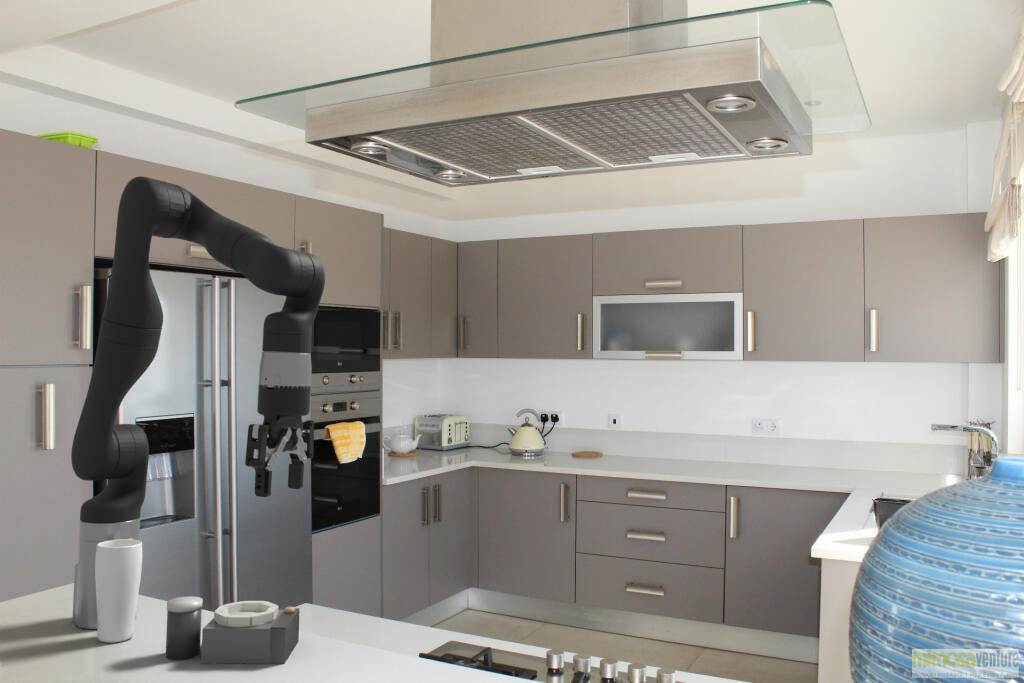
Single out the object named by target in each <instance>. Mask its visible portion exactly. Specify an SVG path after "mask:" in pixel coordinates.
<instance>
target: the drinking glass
mask: <svg viewBox="0 0 1024 683" xmlns="http://www.w3.org/2000/svg"><path fill="white" fill-rule="evenodd" d="M142 570H143V541H141V540H140V539H139V540H134V539H119V540H110V541H104V542H101V543H98V544H97V547H96V558H95V583H96V602H97V625H98V627H97V629H96V631H97V632H96V634H97V635H96V636H97V640H98V641H100V642H103V643H107V644H109V643H111V644H112V643H120V642H125V641H128V640H130V639H131V638H133V637H134V635H135V631H136V628H135V627H136V619H137V608H138V600H139V593H140V592H139V591H140V587H141V579H142ZM135 618H136V619H135Z"/></svg>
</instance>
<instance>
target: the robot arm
mask: <svg viewBox="0 0 1024 683" xmlns="http://www.w3.org/2000/svg"><path fill="white" fill-rule="evenodd" d="M119 199H120V200H119V204H118V209H117V218H116V228H115V229H116V230H115V242H114V253H113V260H112V266H111V273H110V274H111V275H110V280H109V287H108V292H107V296H106V301H105V305H104V310H103V313H102V318H101V322H100V328H99V333H98V340H97V346H96V352H95V358H94V362H93V367H92V373H91V376H90V381H89V385H88V390H87V392H86V397H85V399H84V403H83V406H82V410H81V412H80V417H79V420H78V423H77V425H76V428H75V432H74V436H73V441H72V445H71V452H70V455H71V457H70V458H71V466H72V470H73V472H74V474H75V476H76V477H77V478H79V479H80V480H82V481H88V482H90V481H101V480H102V481H104V480H107V481H108V482H107V484H106V487H105V488H103V489H102V491H101V492H99V493H98V494H97V495H95V496H93V497H91V498H90V499H88V500H85V501H84V502H83V503H82V504H81V507H80V514H79V520H80V521H79V534H78V536H79V537H78V538H79V540H78V560H77V561H78V563H77V564H75V566H74V574H73V576H74V578H73V595H72V596H73V599H72V622H75V625H76V626H77V627H78V628H80V629H81V628H82V629H89V630H97V627H98V625H97V602H96V583H95V558H96V547H97V544H98V543H101V542H104V541H110V540H119V539H134V540H140V537H141V536H140V532H141V531H140V529H141V511H142V506H143V505H144V501H145V499H146V492H147V491H146V490H147V489H146V488H147V479H148V470H149V469H148V468H149V460H150V458H149V457H150V456H149V455H150V449H149V448H150V447H149V440H148V437H147V434H146V432H145V431H144V429H143V427H141V426H139V425H137V424H134V423H119V424H118V423H116V424H115V421H116V418H117V416H118V412H119V409H120V406H121V404H122V402H123V400H124V399H125V397H126V396H127V394H128V393H129V391H130V390H131V389H132V387H133V386H134V385H136V383H137V382H138V381H139V379H141V377H142V376H143V375H144V374H145V372H146V371H147V370H148V368H150V366H151V364H152V363H153V361H154V360H155V357H156V356H157V353H158V350H159V349H158V348H159V344H160V341H161V336H162V329H163V325H164V311H163V307H162V303H161V301H160V297H159V295H158V292H157V289H156V288H155V285H154V282H153V278H152V275H151V271H150V263H149V262H150V252H151V242H152V238H153V237H157V238H163V239H177V240H182V241H187V242H191V243H194V244H198V245H200V246H201V247H204V248H205V250H206V251H207V253H208V254H209V255H210V256H211V258H212V259H214V260H215V261H216V262H218V263H219V264H222V265H223V266H225V267H227V268H229V269H231V270H232V271H235V272H237V273H239V274H241V275H242V276H244V277H245V278H246V280H248V281H249V282H250V283H251V284H252V285H254V286H255V287H256V288H258V289H260V290H262V291H264V292H266V293H268V294H271V295H275V296H280V297H281V296H283V297H285V300H284V303H283V306H282V309H281V310H280V311H275V312H271V313H269V314H267V315H266V316H265V318H264V321H263V328H262V333H263V334H262V347H261V348H262V349H261V350H262V351H261V357H260V358H261V359H260V363H259V370H258V389H257V406H256V407H257V408H256V410H257V411H256V412H257V414H259V415H260V416H263V421H262V423H261V424H260V423H250V424H249V425H248V427H247V438H246V451H245V458H244V459H245V461H244V463H245V464H244V465H245V466H246V467H251V468H252V469H253V470H254V471H255V473H254V496H256V497H260V498H261V497H262V498H268V497H270V496H271V494H272V480H273V477H272V476H273V471H272V468H273V466H274V464H275V461H276V460H277V459H279V458H280V457H281V454H282V453H284V454H286V457H287V459H288V461H289V463H288V474H287V476H288V477H287V487H288V488H289V489H291V490H292V489H293V490H299V489H302V488H303V487H304V471H305V470H304V469H305V464H307V461H308V459H313V458H314V450H315V449H314V444H315V443H314V438H315V437H314V436H315V422H314V420H312V419H302V417H306V416H309V414H310V410H311V408H310V406H311V390H312V388H311V387H312V371H313V370H312V358H311V356H312V355H311V352H312V337H313V336H312V335H313V334H312V333H313V331H312V330H313V324H314V321H315V319H316V317H317V313H318V310H319V306H320V303H321V300H322V297H323V294H324V290H325V284H326V273H325V268H324V266H323V263H322V261H321V259H319V258H318V257H317V256H316V255H315V254H312V253H311V252H306V251H300V250H295V249H291V248H286V247H284V246H283V247H282V246H279V245H276V244H275V242H274V241H273V240H272V239H271V238H269V237H268V236H266V235H265V234H263V233H261V232H259V231H258V230H255V229H253V228H251V227H249V226H247V225H244V224H242V223H240V222H237V221H235V220H233V219H231V218H228V217H226V216H224V215H222V214H220V213H219V212H217V211H216V210H214V209H213V208H212V207H210V206H209V205H208V204H206V203H205V202H204V201H202V200H201V199H200V198H199V197H197V195H195V194H194V193H192V192H190V190H188V189H186V188H185V187H182V186H181V185H177V184H174V183H171V182H168V181H167V182H166V181H165V180H164V181H163V180H159V179H154V178H151V177H148V176H147V177H146V176H142V175H141V176H140V175H139V176H135V177H133V178H131V179H130V180H129V181H128V182H127V184H126V185H125V187H124V188H123V191H122V193H121V196H120V198H119ZM255 451H256V453H257V454H256V455H255V456H256V457H254V454H255ZM266 458H267V459H266ZM136 619H137V617H136V618H135V620H136Z"/></svg>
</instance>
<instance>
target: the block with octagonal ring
mask: <svg viewBox="0 0 1024 683" xmlns="http://www.w3.org/2000/svg"><path fill="white" fill-rule="evenodd" d="M300 610H301V609H300V608H296V606H286V607H284V609H279V605H278V604H275V603H273V602H271V601H267V600H266V601H265V600H243V601H242V600H240V601H237V602H236V601H235V602H230V603H225V604H223V605H220V606H219V607H218V608H217V609H215V610H214V612H213V618H212V619H211V620H210V621H209V622H208V623H207V624H206V625H205V626H204V627H203V628H202V629H201V634H202V635H201V637H202V638H201V661H200V662H201V664H218V663H240V665H241V663H245V664H246V665H247V664H257V665H258V664H260V665H261V664H262V665H263V664H268V665H269V664H274V665H275V664H276V665H277V664H285V663H286V662H287V660H288V659H289V657H290V655H291V654H292V653H293V651H294V649H295V648H296V646H297V645H298V643H299V641H300V640H299V638H300Z"/></svg>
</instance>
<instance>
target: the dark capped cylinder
mask: <svg viewBox="0 0 1024 683" xmlns="http://www.w3.org/2000/svg"><path fill="white" fill-rule="evenodd" d="M203 601H204V600H203V598H202V597H199V596H178V597H174V598H171V599H168V600H167V601H166V612H167V614H166V634H165V635H166V637H165V638H166V639H165V659H167V660H170V661H186V660H191V659H194V658H197V657H199V656H200V654H201V639H202V638H201V637H202V635H201V634H202V612H203V610H202V609H203V608H202V607H203Z"/></svg>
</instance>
